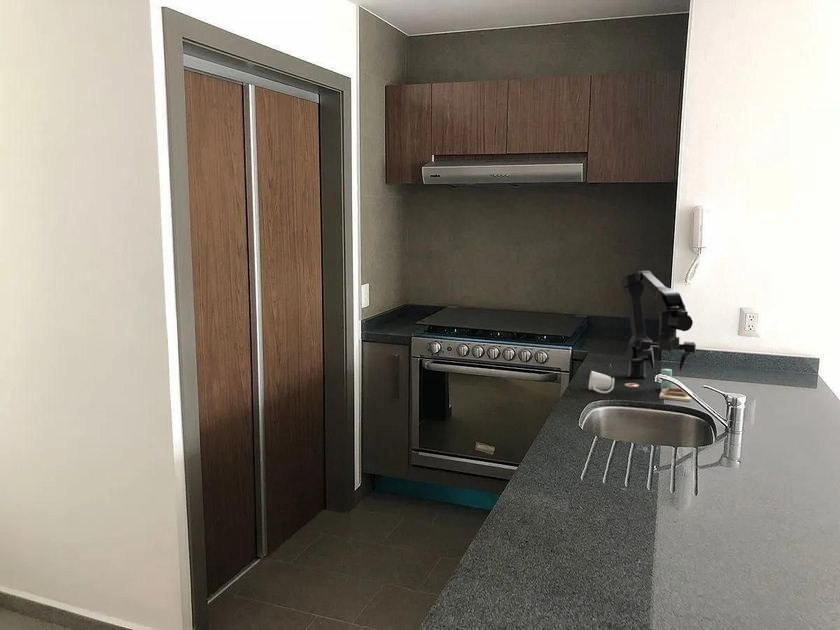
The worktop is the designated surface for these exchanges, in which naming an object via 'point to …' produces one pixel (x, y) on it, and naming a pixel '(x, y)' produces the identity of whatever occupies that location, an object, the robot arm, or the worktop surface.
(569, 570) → the worktop surface
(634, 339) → the robot arm
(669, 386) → the peg
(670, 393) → the board
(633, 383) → the peach flat disc
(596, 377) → the cup
